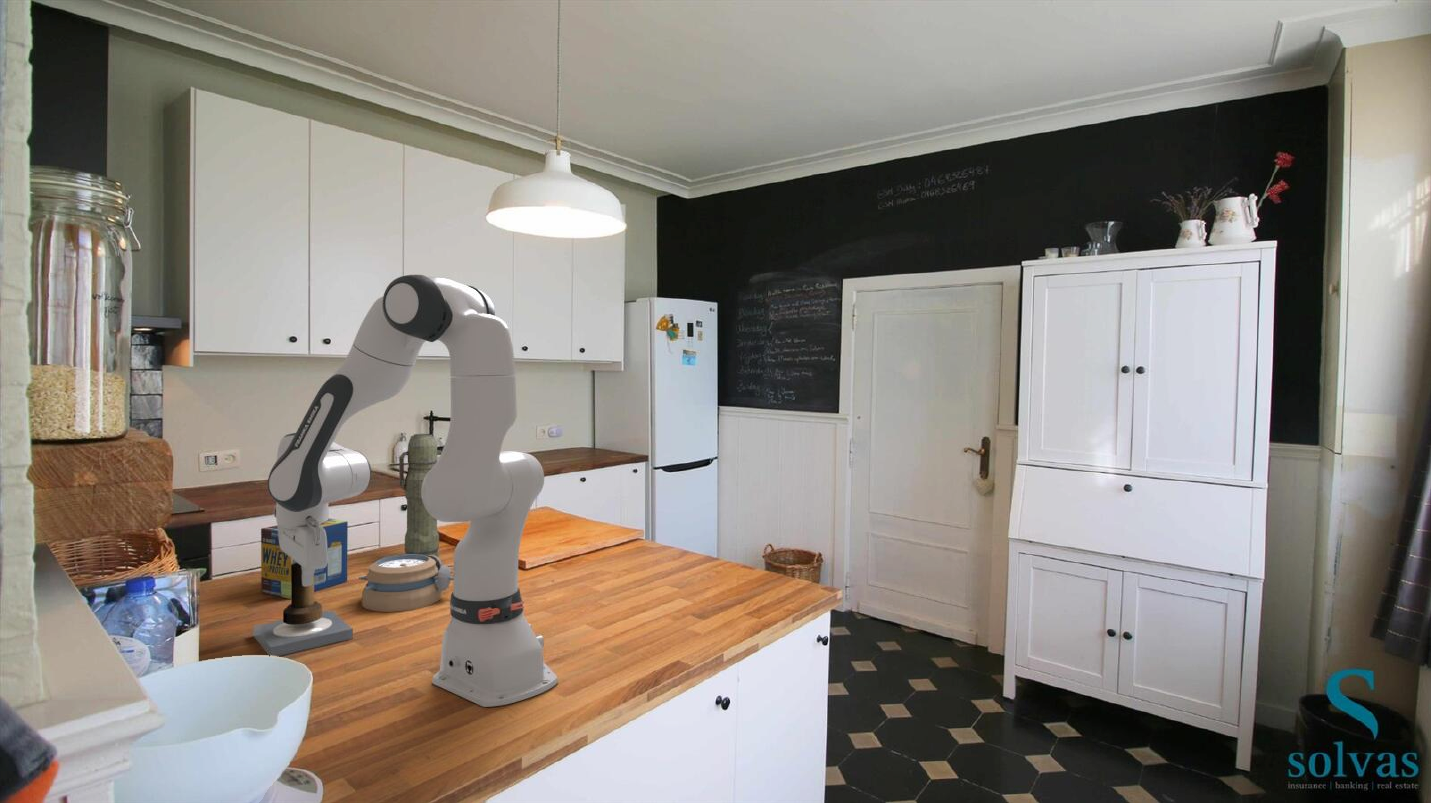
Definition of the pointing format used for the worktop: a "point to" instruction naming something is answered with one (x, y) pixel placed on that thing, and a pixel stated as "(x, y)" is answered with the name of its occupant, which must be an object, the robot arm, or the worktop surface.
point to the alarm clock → (405, 582)
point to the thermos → (419, 495)
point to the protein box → (279, 564)
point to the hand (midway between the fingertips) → (302, 582)
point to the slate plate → (302, 634)
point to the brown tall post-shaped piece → (301, 600)
